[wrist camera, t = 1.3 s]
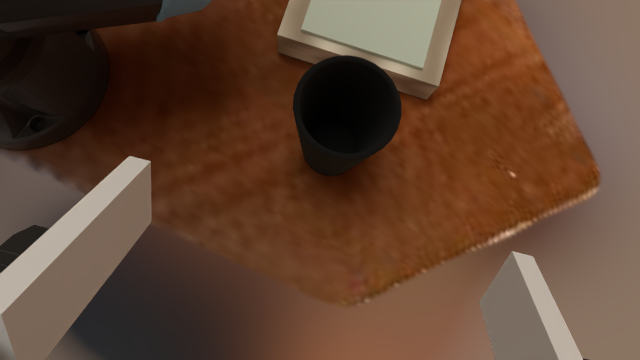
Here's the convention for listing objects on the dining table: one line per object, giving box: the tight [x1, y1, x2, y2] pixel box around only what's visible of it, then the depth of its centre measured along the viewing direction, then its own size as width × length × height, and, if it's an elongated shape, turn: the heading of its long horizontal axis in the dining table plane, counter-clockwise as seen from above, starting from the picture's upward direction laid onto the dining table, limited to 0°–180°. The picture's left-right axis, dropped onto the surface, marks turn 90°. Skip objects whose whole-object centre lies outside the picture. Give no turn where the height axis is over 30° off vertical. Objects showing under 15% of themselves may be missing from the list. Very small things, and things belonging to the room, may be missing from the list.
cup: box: [293, 55, 401, 176], centre depth 34 cm, size 8×8×12 cm
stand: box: [277, 0, 461, 100], centre depth 41 cm, size 16×14×4 cm
